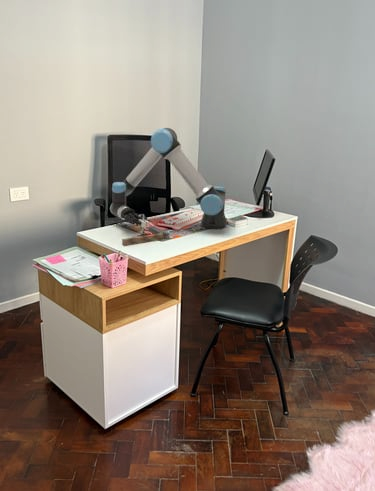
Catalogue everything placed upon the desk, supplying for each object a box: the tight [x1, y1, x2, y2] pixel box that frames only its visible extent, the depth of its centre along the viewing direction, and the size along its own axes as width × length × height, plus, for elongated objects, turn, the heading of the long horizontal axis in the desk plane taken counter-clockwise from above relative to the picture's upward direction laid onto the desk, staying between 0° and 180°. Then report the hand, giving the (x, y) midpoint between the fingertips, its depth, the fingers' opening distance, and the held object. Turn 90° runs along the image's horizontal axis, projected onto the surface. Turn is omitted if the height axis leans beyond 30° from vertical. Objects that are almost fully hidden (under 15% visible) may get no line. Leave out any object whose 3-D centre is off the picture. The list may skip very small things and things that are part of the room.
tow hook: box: [136, 213, 152, 237], centre depth 229 cm, size 8×13×9 cm
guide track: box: [121, 225, 170, 247], centre depth 229 cm, size 26×16×3 cm, turn 123°
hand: (146, 224), depth 223 cm, fingers closed on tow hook
